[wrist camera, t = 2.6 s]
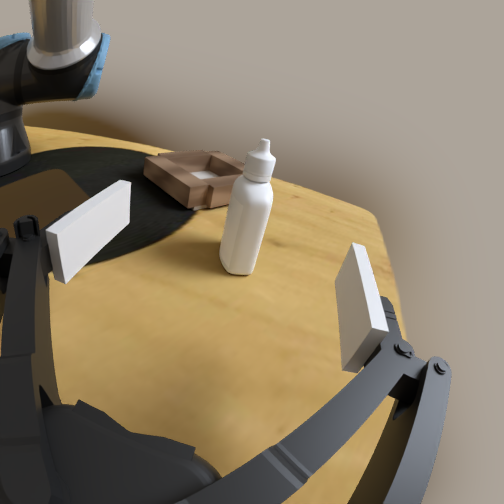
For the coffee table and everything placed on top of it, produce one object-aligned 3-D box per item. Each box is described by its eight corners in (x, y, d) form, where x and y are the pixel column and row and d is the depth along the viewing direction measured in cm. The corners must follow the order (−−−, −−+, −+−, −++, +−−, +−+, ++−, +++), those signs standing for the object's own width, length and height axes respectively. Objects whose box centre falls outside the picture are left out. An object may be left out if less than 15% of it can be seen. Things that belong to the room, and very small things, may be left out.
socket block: (140, 175, 41) (142, 155, 40) (211, 166, 51) (214, 149, 49) (191, 215, 34) (195, 190, 33) (268, 199, 44) (274, 179, 42)
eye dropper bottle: (203, 264, 27) (227, 136, 21) (227, 239, 32) (252, 130, 26) (246, 282, 27) (283, 153, 20) (265, 253, 31) (297, 143, 25)
